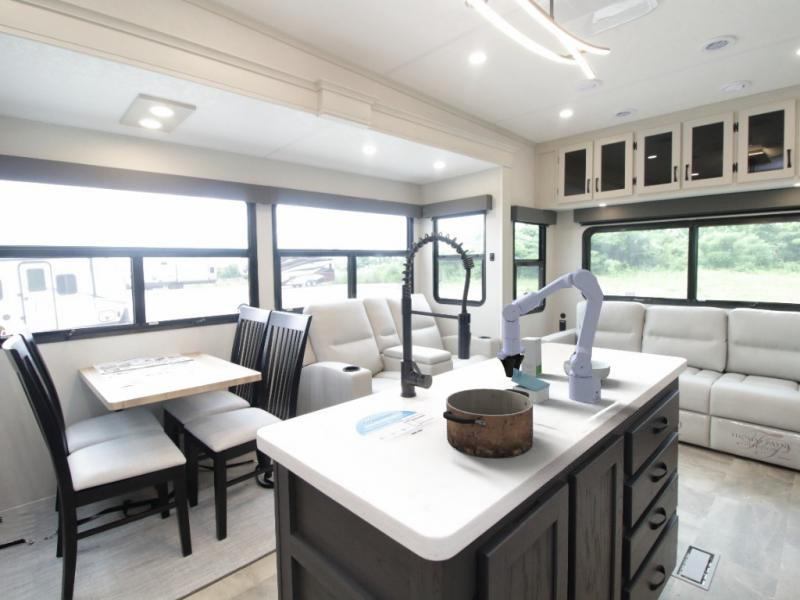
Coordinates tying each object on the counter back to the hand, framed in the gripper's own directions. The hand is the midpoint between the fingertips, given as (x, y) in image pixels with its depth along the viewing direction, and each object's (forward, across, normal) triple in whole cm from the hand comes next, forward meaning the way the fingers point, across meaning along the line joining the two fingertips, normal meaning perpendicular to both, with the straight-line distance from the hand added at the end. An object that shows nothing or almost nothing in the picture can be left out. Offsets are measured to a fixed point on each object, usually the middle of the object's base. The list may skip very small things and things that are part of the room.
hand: (512, 376), depth 145 cm
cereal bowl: (+8, -36, +10) cm, 38 cm away
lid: (+1, 0, +5) cm, 5 cm away
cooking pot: (+8, +36, +16) cm, 41 cm away
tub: (+7, 0, +7) cm, 10 cm away
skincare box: (+7, -31, -11) cm, 34 cm away
